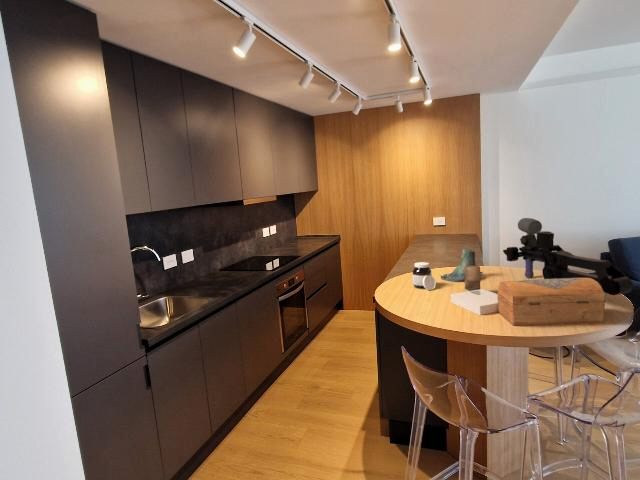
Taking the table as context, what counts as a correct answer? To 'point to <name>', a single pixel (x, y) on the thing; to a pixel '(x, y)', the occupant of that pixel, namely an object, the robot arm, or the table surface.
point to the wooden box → (551, 301)
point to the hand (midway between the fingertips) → (511, 249)
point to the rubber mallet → (530, 228)
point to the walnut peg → (472, 277)
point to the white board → (477, 301)
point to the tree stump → (461, 267)
